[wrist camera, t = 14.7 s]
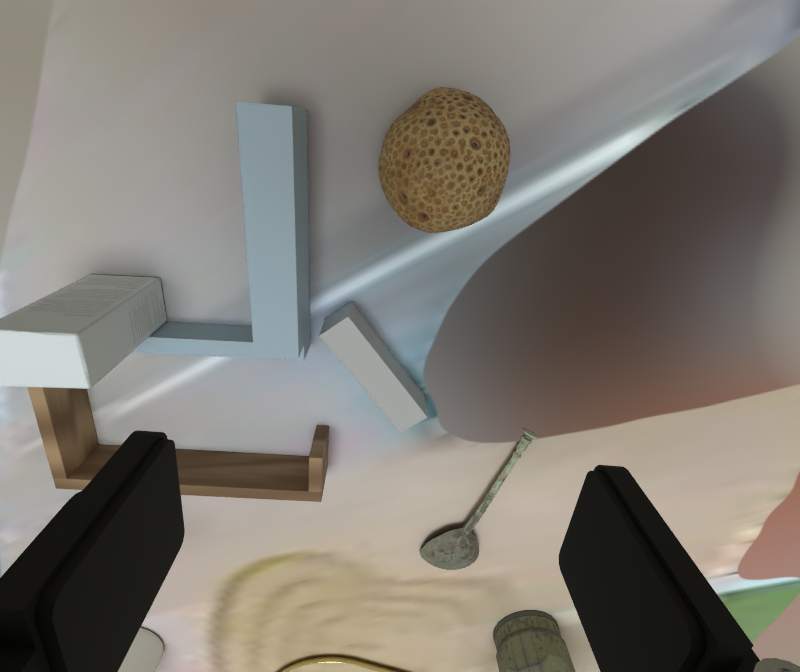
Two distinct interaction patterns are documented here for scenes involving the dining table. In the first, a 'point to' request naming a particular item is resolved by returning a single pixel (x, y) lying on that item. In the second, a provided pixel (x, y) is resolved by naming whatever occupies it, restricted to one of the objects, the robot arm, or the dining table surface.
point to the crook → (263, 246)
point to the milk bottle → (143, 653)
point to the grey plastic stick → (374, 366)
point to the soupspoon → (468, 525)
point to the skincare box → (79, 331)
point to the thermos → (531, 644)
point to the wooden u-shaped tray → (197, 470)
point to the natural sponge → (444, 161)
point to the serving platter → (382, 670)
